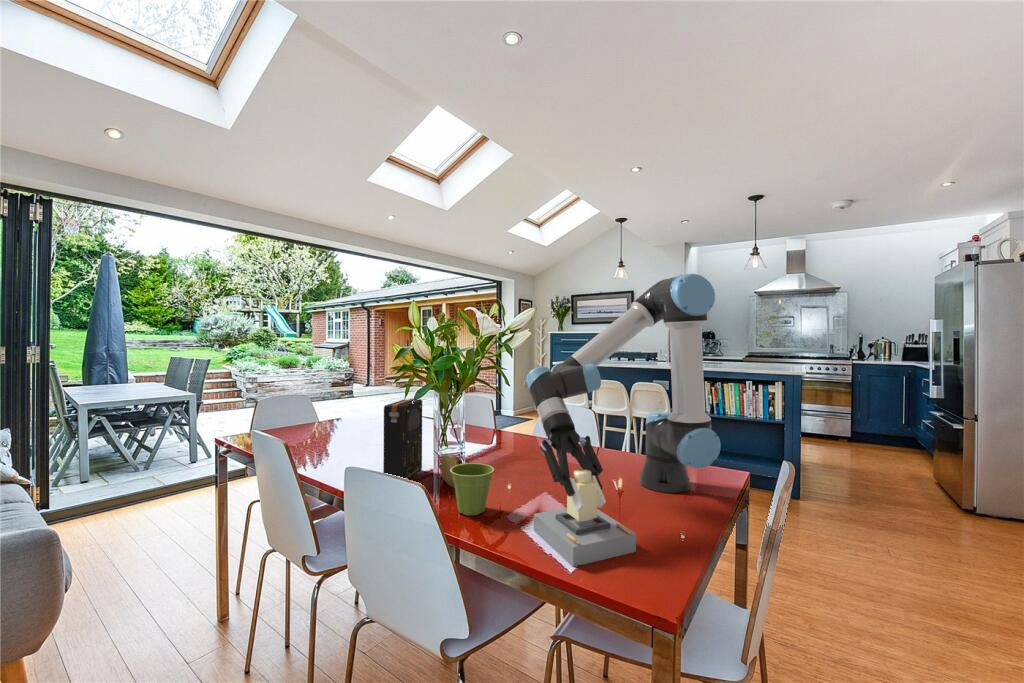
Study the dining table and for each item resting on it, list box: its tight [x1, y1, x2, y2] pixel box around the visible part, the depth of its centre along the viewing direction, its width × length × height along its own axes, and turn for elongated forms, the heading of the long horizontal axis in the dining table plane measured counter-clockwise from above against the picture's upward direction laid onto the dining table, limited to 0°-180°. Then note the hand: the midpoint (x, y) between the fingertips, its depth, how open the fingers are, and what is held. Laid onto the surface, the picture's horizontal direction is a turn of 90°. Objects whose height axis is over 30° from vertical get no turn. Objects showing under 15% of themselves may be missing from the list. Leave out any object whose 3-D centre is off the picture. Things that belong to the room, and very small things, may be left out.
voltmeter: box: [382, 398, 423, 480], centre depth 144 cm, size 16×9×25 cm, turn 168°
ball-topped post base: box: [533, 507, 637, 568], centre depth 100 cm, size 16×18×5 cm
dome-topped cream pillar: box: [566, 468, 599, 521], centre depth 100 cm, size 5×5×10 cm
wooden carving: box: [438, 453, 464, 489], centre depth 135 cm, size 16×5×10 cm, turn 43°
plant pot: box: [450, 462, 495, 517], centre depth 116 cm, size 12×12×11 cm
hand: (591, 506), depth 96 cm, fingers closed on dome-topped cream pillar, 5 cm apart
